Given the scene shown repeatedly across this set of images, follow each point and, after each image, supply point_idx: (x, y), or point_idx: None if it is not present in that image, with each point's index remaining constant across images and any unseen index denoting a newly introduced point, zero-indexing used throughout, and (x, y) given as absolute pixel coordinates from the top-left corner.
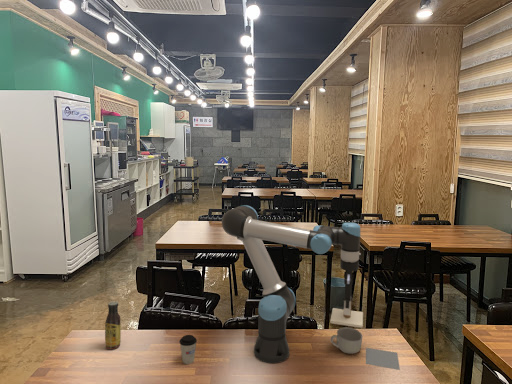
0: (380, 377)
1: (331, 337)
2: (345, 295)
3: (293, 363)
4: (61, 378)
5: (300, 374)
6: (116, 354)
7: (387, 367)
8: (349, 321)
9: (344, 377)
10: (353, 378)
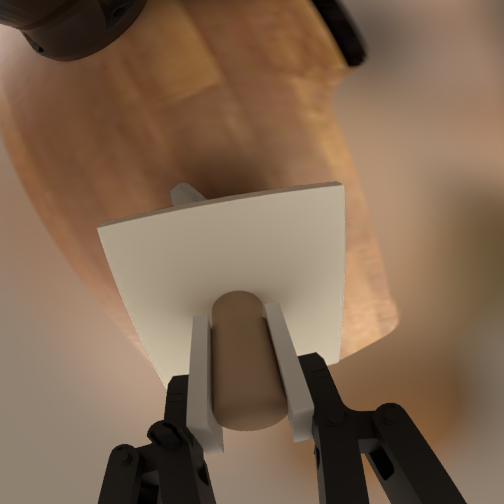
0: (138, 339)
1: (176, 190)
2: (104, 501)
3: (58, 91)
4: None
5: (23, 141)
6: None
7: None
8: (169, 338)
9: (75, 260)
10: (87, 283)
